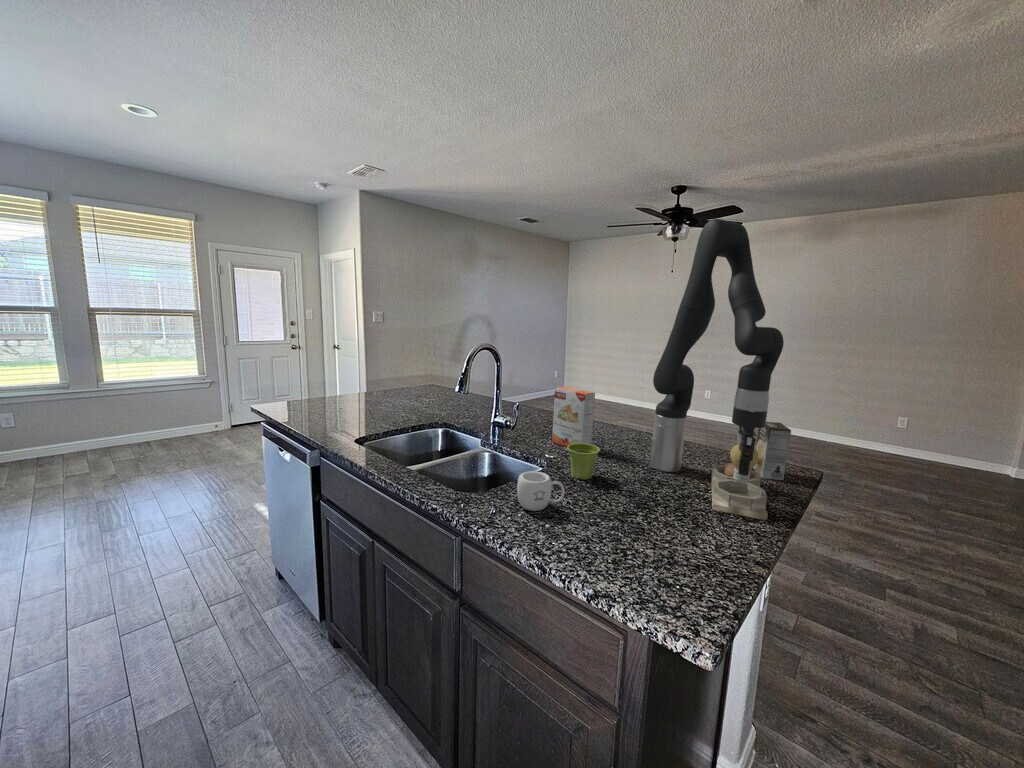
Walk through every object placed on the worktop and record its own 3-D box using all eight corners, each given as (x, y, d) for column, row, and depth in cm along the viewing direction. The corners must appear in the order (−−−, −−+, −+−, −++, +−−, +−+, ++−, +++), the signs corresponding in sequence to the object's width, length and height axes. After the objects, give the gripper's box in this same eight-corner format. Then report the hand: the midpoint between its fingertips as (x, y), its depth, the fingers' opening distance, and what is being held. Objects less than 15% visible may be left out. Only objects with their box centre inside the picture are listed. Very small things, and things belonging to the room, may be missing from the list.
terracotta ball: (723, 483, 124) (726, 463, 123) (722, 477, 130) (725, 457, 129) (747, 488, 122) (750, 467, 121) (745, 480, 127) (748, 461, 126)
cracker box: (550, 442, 161) (554, 387, 158) (561, 440, 166) (565, 385, 162) (580, 452, 151) (585, 393, 148) (591, 449, 155) (595, 391, 152)
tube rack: (712, 509, 111) (714, 493, 110) (711, 476, 134) (712, 462, 133) (766, 520, 106) (769, 502, 105) (755, 483, 129) (757, 469, 129)
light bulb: (722, 476, 116) (726, 440, 114) (745, 477, 116) (749, 440, 115) (736, 486, 110) (741, 448, 108) (760, 486, 110) (765, 448, 109)
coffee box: (751, 468, 143) (758, 420, 140) (773, 470, 142) (780, 422, 139) (761, 478, 134) (769, 427, 131) (784, 481, 133) (792, 429, 130)
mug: (519, 514, 104) (520, 483, 102) (513, 499, 112) (515, 470, 111) (568, 513, 105) (570, 482, 104) (559, 498, 114) (561, 469, 112)
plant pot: (576, 484, 124) (578, 454, 122) (559, 472, 132) (561, 444, 131) (604, 479, 127) (606, 451, 126) (586, 468, 136) (587, 442, 134)
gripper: (732, 400, 118) (724, 459, 121) (735, 410, 105) (727, 476, 107) (763, 403, 115) (755, 464, 118) (771, 414, 102) (761, 482, 105)
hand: (742, 469), depth 113 cm, fingers closed on light bulb, 6 cm apart
